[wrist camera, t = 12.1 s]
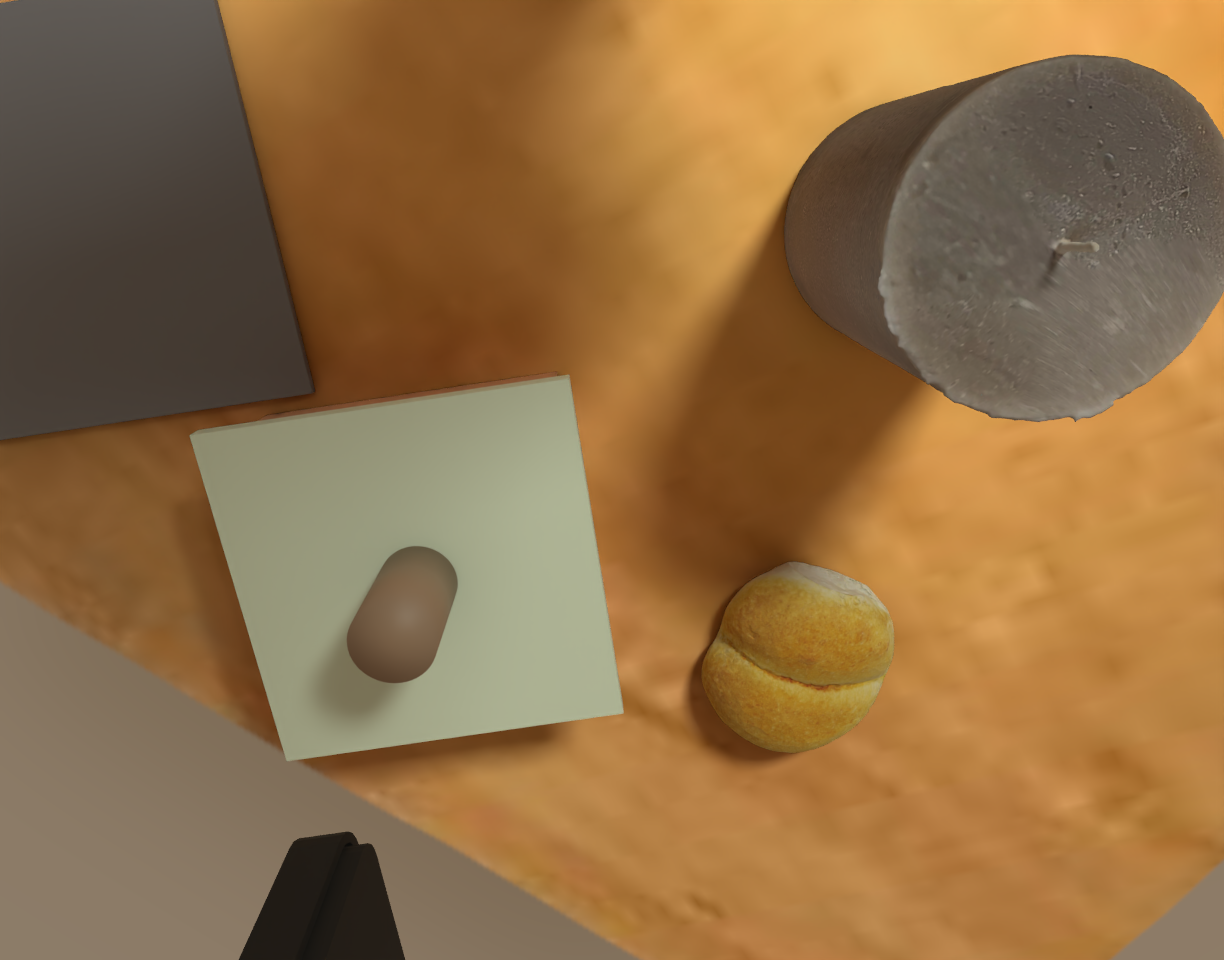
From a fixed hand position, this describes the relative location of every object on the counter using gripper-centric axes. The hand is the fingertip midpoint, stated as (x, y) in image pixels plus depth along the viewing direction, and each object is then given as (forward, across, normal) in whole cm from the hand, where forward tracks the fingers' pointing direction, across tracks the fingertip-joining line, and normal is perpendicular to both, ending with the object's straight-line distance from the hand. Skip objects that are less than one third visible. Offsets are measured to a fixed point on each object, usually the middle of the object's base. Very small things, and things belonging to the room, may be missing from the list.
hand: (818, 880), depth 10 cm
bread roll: (+31, -5, +14) cm, 34 cm away
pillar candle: (+31, -11, -4) cm, 33 cm away
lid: (+25, +10, +6) cm, 28 cm away
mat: (+30, +22, -9) cm, 39 cm away
